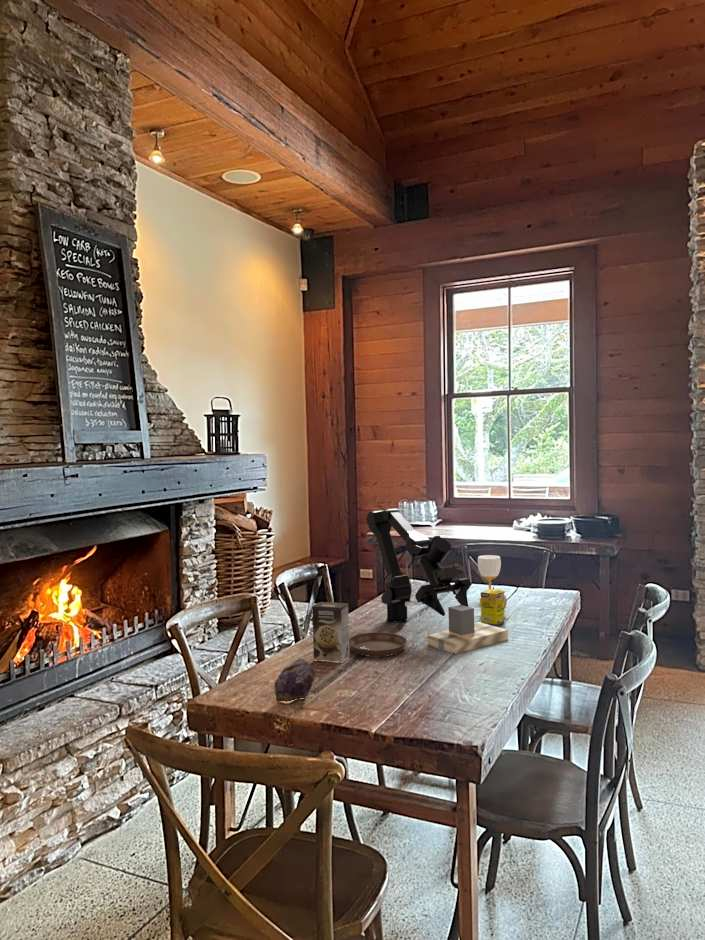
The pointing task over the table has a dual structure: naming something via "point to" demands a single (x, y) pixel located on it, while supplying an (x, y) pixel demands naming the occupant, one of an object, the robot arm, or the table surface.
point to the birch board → (468, 638)
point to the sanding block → (461, 620)
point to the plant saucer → (377, 643)
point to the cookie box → (330, 631)
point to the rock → (294, 681)
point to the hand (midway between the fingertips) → (456, 612)
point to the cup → (489, 567)
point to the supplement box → (492, 607)
